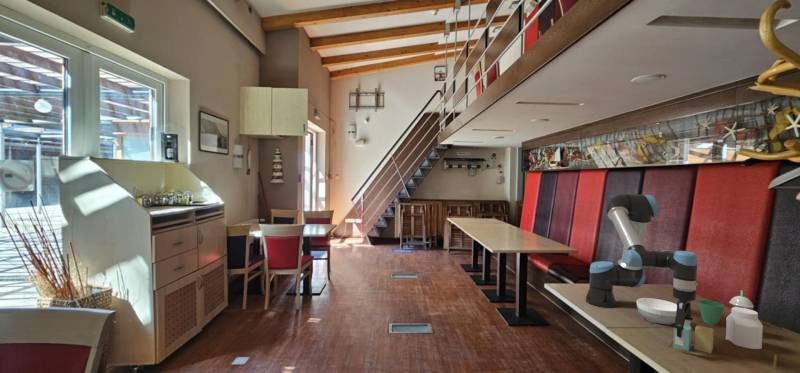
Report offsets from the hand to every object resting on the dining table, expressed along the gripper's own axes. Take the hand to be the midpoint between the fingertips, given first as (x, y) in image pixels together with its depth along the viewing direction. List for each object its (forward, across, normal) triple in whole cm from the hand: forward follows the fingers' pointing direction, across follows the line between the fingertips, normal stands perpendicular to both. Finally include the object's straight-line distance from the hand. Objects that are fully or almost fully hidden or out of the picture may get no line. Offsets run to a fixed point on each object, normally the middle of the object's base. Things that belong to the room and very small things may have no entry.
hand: (682, 339), depth 151 cm
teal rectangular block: (+3, 0, 0) cm, 3 cm away
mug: (+4, +49, -3) cm, 49 cm away
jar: (+4, +26, -17) cm, 31 cm away
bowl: (+4, +29, +14) cm, 33 cm away
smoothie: (+4, +42, -15) cm, 45 cm away
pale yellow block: (+3, +4, -6) cm, 8 cm away
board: (+4, +2, -2) cm, 5 cm away
